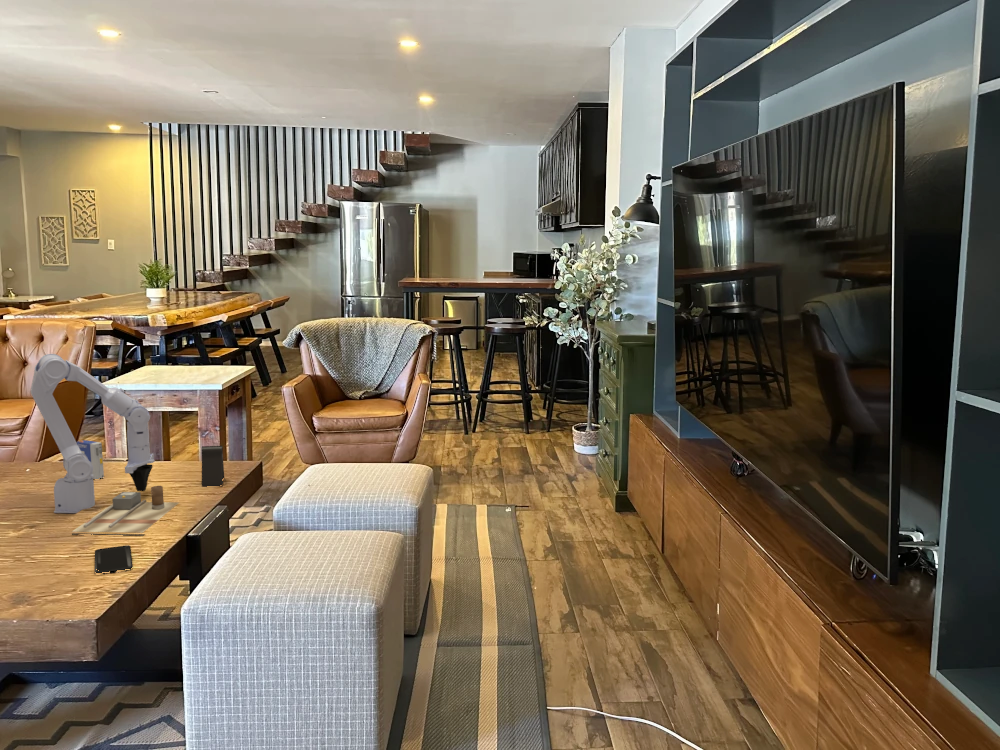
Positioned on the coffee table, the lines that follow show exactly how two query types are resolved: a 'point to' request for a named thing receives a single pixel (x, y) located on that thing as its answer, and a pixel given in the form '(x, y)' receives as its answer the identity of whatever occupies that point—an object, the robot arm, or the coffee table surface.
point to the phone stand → (212, 466)
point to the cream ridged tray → (125, 519)
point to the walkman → (93, 456)
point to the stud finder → (126, 500)
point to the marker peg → (157, 497)
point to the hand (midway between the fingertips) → (141, 490)
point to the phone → (113, 559)
